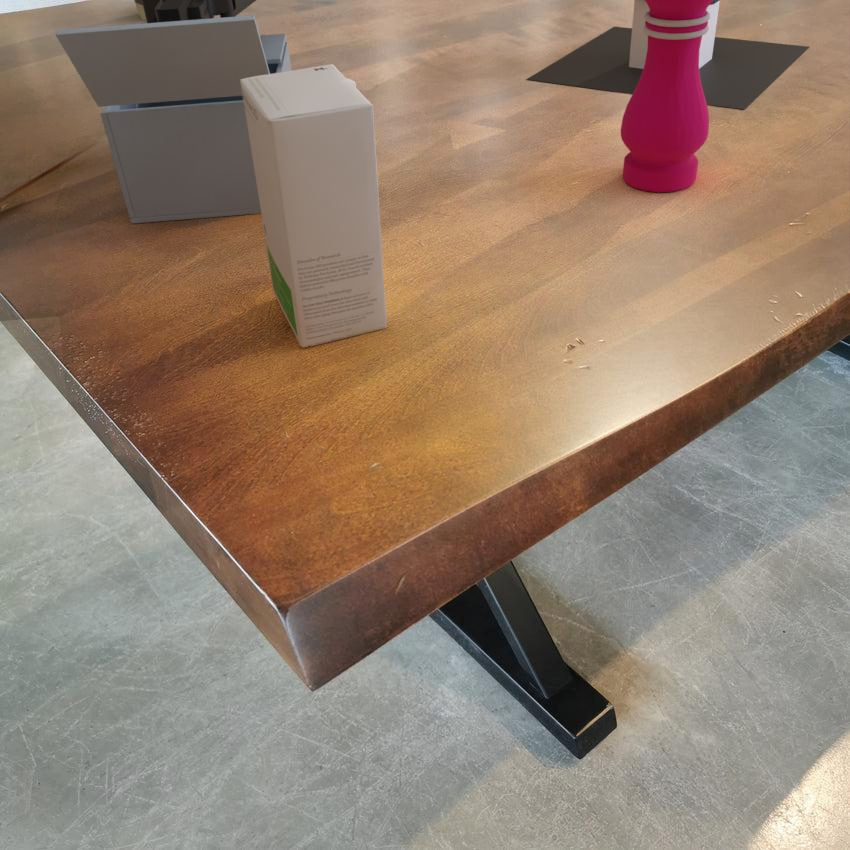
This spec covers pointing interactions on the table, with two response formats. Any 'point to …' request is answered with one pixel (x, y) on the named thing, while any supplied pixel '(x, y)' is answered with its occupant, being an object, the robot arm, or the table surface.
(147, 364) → the table surface
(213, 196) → the carton
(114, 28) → the flap
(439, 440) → the table surface
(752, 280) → the table surface
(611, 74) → the dark grey square mat
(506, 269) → the table surface
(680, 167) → the pepper mill
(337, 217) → the cosmetic box
